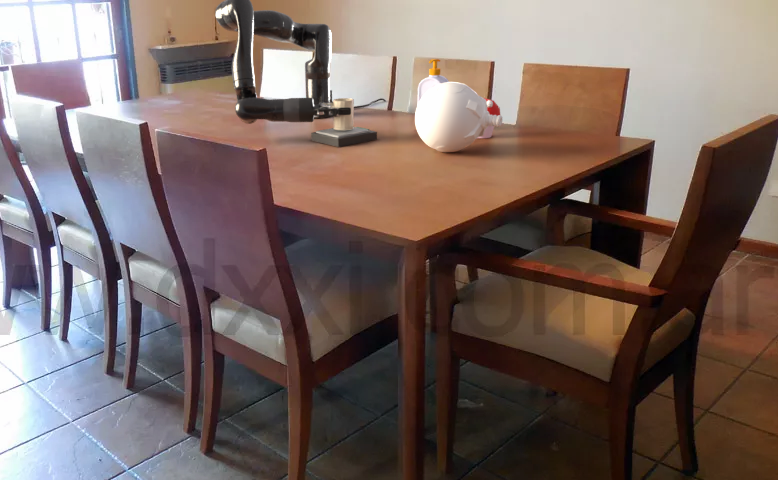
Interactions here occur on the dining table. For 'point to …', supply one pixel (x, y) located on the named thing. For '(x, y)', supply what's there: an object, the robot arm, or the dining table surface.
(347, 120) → the tumbler
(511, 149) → the dining table surface
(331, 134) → the scale
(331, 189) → the dining table surface
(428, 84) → the soap bottle
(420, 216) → the dining table surface
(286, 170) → the dining table surface
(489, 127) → the mushroom
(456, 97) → the white rounded shape
